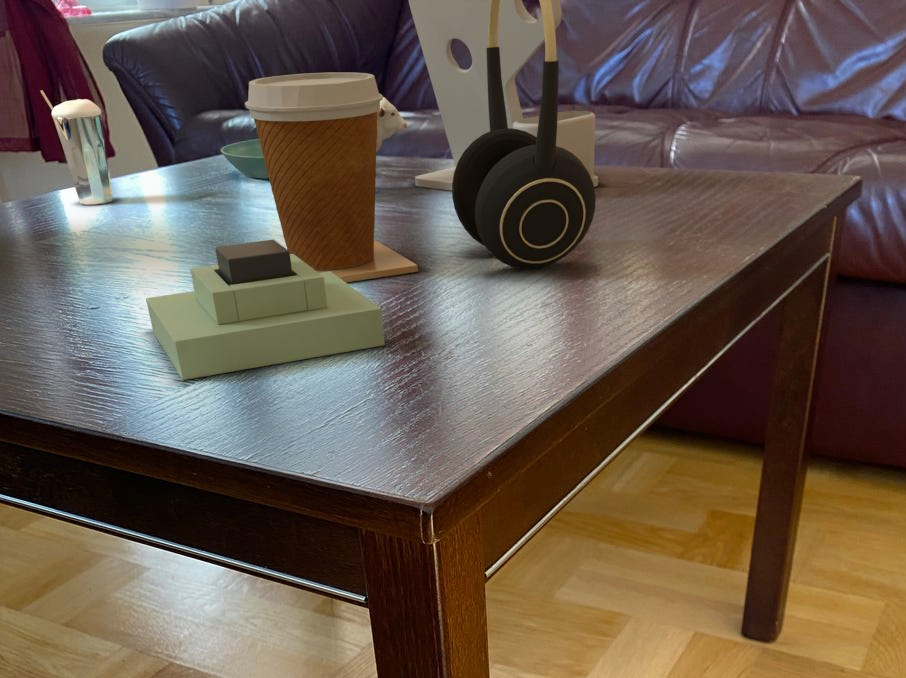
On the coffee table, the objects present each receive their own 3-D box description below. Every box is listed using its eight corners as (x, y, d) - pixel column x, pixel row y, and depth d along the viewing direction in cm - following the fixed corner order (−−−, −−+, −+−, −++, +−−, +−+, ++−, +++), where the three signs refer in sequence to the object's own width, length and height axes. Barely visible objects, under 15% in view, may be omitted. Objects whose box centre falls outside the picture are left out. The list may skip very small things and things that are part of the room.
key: (219, 277, 61) (214, 246, 60) (278, 268, 63) (273, 238, 62) (233, 290, 59) (228, 259, 58) (293, 282, 60) (289, 251, 59)
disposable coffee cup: (286, 283, 71) (260, 90, 65) (255, 254, 79) (228, 78, 72) (413, 264, 74) (400, 78, 68) (372, 239, 82) (356, 68, 75)
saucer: (248, 189, 105) (244, 161, 104) (208, 170, 116) (203, 144, 115) (378, 171, 111) (376, 145, 109) (328, 155, 122) (325, 130, 120)
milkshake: (78, 197, 105) (52, 87, 99) (127, 196, 104) (104, 86, 99) (57, 206, 101) (29, 93, 96) (108, 206, 100) (82, 91, 95)
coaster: (251, 261, 79) (250, 255, 79) (373, 245, 82) (372, 238, 82) (285, 291, 71) (284, 284, 71) (418, 271, 75) (417, 264, 74)
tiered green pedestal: (153, 333, 64) (139, 268, 62) (334, 304, 68) (327, 242, 66) (182, 380, 57) (167, 308, 55) (385, 345, 61) (379, 276, 58)
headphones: (492, 290, 70) (482, -65, 59) (444, 243, 82) (429, -58, 71) (610, 277, 71) (622, -70, 60) (547, 233, 83) (547, -63, 72)
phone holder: (606, 184, 100) (613, -35, 90) (543, 202, 94) (543, -31, 84) (473, 169, 110) (466, -30, 100) (408, 185, 104) (393, -26, 94)
